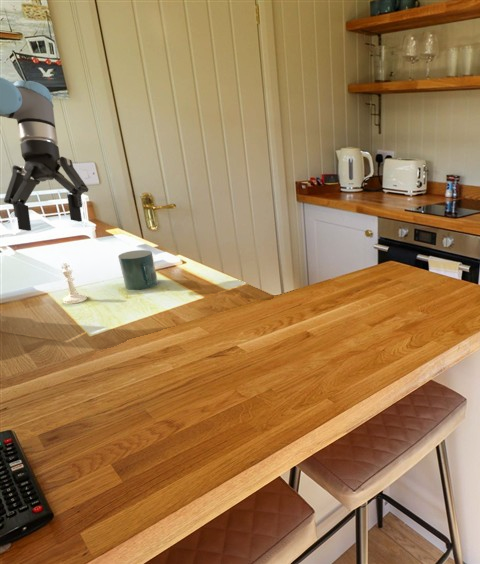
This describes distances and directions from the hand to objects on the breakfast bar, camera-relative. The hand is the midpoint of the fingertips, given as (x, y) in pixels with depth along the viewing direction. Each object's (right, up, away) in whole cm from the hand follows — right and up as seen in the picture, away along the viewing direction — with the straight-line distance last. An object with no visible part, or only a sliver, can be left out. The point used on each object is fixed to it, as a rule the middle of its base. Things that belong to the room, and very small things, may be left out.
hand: (50, 225), depth 108 cm
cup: (+17, -15, +12) cm, 26 cm away
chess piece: (+5, -19, +2) cm, 20 cm away
